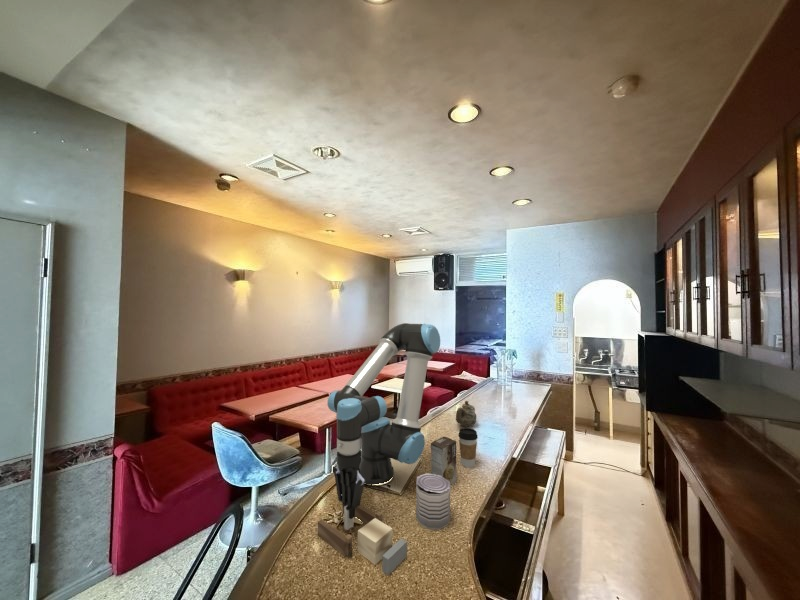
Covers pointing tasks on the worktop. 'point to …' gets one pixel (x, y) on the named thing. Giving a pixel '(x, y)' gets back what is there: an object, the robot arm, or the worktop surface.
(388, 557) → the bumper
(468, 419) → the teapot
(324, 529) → the chute
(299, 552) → the worktop surface
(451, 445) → the coffee box
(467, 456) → the coffee cup
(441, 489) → the can
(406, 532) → the worktop surface
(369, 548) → the block
